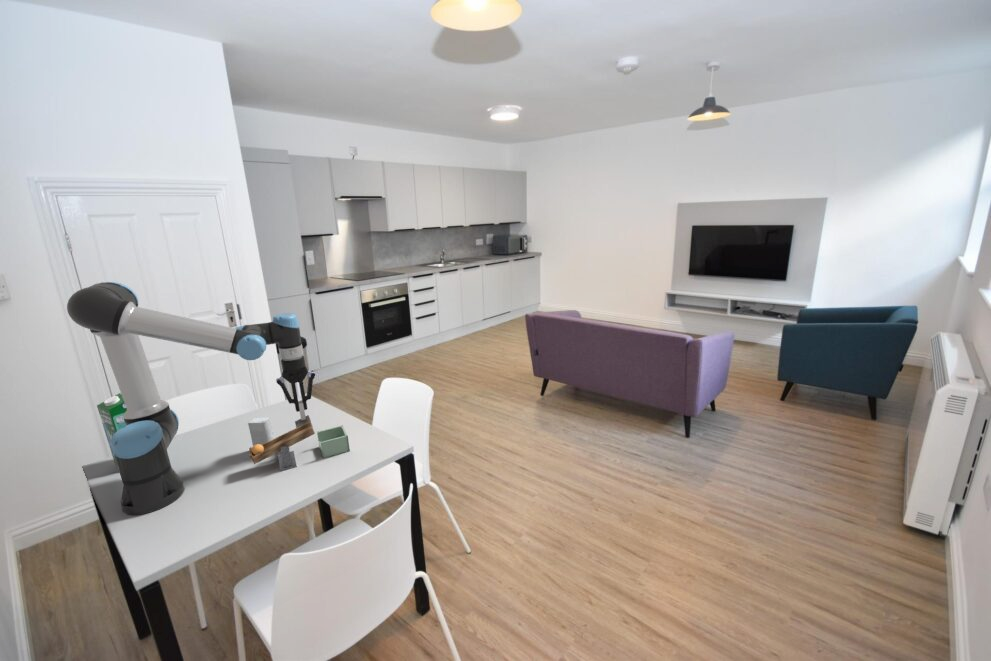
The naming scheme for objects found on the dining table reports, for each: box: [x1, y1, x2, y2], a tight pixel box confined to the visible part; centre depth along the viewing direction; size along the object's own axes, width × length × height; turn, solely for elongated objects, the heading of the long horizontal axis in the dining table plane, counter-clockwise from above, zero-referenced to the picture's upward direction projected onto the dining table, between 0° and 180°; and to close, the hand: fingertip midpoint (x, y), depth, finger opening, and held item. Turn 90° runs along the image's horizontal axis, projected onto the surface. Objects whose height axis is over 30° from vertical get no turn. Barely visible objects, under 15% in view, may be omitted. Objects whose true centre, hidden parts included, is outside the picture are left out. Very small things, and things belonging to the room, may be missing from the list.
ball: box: [251, 444, 264, 455], centre depth 143 cm, size 4×4×4 cm
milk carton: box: [96, 392, 127, 466], centre depth 150 cm, size 9×9×25 cm
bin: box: [316, 424, 351, 459], centre depth 155 cm, size 9×9×6 cm
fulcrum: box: [277, 445, 297, 472], centre depth 148 cm, size 5×10×8 cm, turn 29°
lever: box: [248, 414, 316, 465], centre depth 150 cm, size 20×15×3 cm
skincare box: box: [247, 417, 275, 447], centre depth 156 cm, size 6×4×12 cm
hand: (303, 418), depth 158 cm, fingers closed
